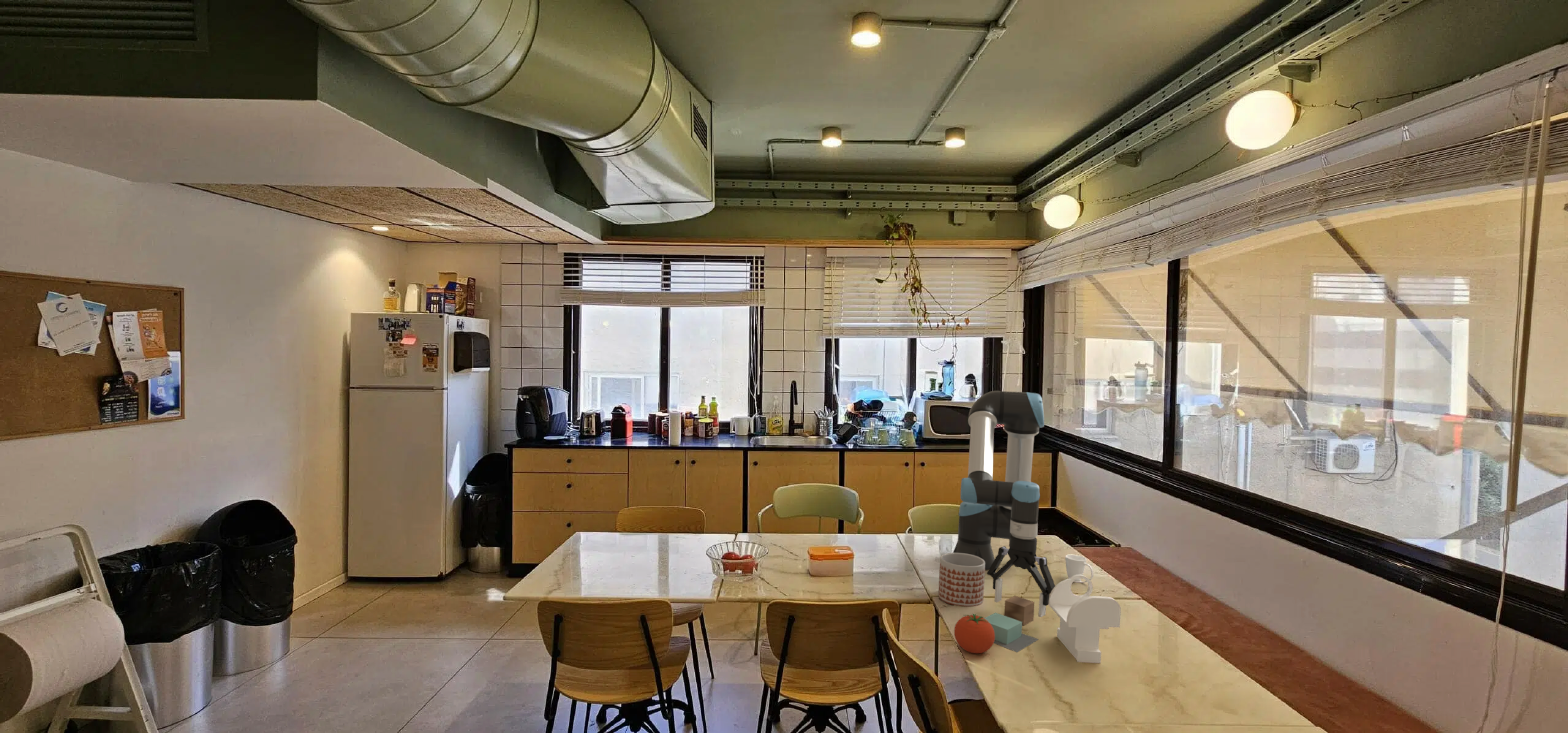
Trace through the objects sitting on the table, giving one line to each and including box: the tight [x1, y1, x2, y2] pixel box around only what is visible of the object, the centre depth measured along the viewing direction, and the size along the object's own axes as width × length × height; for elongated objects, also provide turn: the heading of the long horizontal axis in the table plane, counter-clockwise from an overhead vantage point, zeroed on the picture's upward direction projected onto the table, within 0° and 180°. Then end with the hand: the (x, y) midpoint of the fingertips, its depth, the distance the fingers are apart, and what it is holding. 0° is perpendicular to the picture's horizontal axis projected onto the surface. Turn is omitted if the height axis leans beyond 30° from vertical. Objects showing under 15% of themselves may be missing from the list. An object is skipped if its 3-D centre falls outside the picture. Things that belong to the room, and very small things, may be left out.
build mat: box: [993, 633, 1039, 653], centre depth 185 cm, size 16×12×1 cm
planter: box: [937, 552, 986, 608], centre depth 211 cm, size 14×14×13 cm
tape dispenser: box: [1048, 574, 1122, 664], centre depth 179 cm, size 14×13×18 cm
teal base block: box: [983, 612, 1023, 644], centre depth 185 cm, size 8×8×4 cm
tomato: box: [953, 613, 995, 654], centre depth 175 cm, size 10×10×10 cm
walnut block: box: [1003, 595, 1035, 627], centre depth 196 cm, size 6×6×6 cm
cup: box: [1064, 553, 1094, 584], centre depth 231 cm, size 7×10×8 cm
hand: (1019, 608), depth 196 cm, fingers open, 13 cm apart
